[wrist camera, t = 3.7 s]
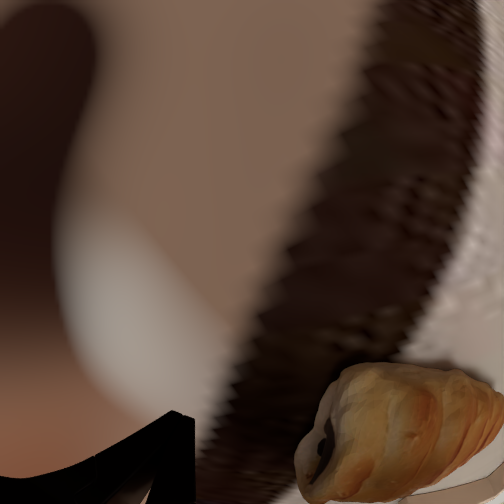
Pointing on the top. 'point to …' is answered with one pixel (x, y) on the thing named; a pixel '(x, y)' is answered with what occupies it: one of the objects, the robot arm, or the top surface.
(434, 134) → the top surface
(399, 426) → the pastry
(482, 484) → the frame
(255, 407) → the top surface
